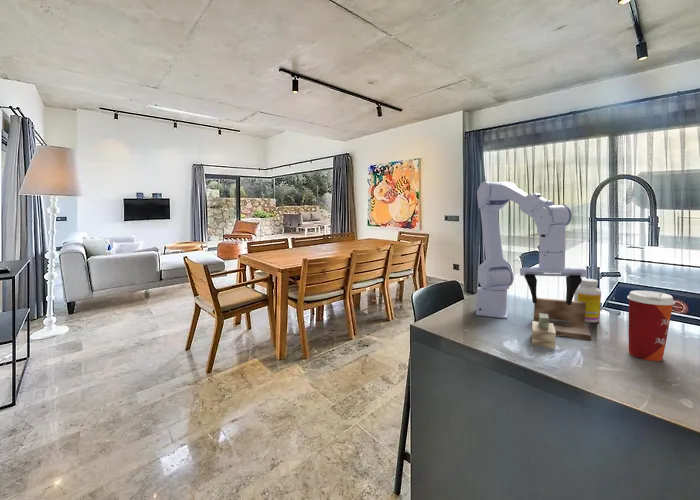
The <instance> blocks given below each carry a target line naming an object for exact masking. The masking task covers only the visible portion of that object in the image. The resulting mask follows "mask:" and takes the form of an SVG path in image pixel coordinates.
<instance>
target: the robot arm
mask: <svg viewBox="0 0 700 500" xmlns="http://www.w3.org/2000/svg"><path fill="white" fill-rule="evenodd" d="M476 196H477V197H476V198H477V204H478V205H477V206H478V209H479V210H480V219H481V228H482V239H483V246H484V254H485V260H484V261H483V262H482V263H481V264H479V265H478V275H477V280H478V284H479V285H480V286H478V287H477V289H476V303H475V308H476V309H475V310H476V311H475V315H476V316H483V317H491V318H498V319H499V318H500V319H508V316H509V315H508V314H509V310H508V309H507V308H508V307H507V306H508V305H507V304H508V303H507V302H508V290H509V289H510V287H511V286H512V285H513V283H514V280H515V277H514V276H515V275H514V272H513V270H512V268H511V264H510V263H509V262H508V261H507V260H505V259H504V258H503V256H504V255H503V247H502V240H501V231H500V224H499V223H500V221H499V214H498V213H499V211H500V210H501V209H503V208H504V207H506V205H507V204H508V203H509V202H513V203H514V204H516V205H518V206H519V210H520V212H522V213H524V214H525V215H526V216H529V217H530V218H532V219H533V222H534V224H535V225H536V231H537V234H538V235H539V236H538V237H539V239H538V240H539V242H538V243H539V244H538V250H539V251H538V267H537V266H536V267H535V266H534V267H519V275H520V277H521V276H522V277H524V279H525V281H526V283H527V286H528V289H529V291H530V295H531V298H532V304H534V303H537V298H538V297H537V296H538V295H537V287H538V286H537V285H538V283H537V282H538V279H537V276H539V277H544V276H545V277H565V281H566V282H565V284H566V285H565V286H566V294H565V300H566V304H567V305H571V303H572V301H573V300H574V296H575V292H576V290H577V288H578V286H580V283H581V282H582V278H587V269H585V268H572V267H566V232H567V231H566V227H567V226H569V224H570V223H571V221H572V216H573V215H572V211H571V208H570V207H569V206H567V205H566V204H557V205H556V204H555V203H553V202H554V201H553V200H549V199H546V198H544V197H542V194H541V193H539V192H533V193H527V192H525V191H523V190H522V189H520V188H519V187H517V186H516V183H514V182H511V181H509V180H508V181H482V182H481V183H480V185H479V187H478V189H477V191H476Z"/></svg>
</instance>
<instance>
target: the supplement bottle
mask: <svg viewBox="0 0 700 500" xmlns="http://www.w3.org/2000/svg"><path fill="white" fill-rule="evenodd" d="M581 278H582V282H581V283H580V285H579V286H578V288H577V290H576V292H575V294H574V296H573V301H580V302H585V303H586V309H585V323H589V324H590V323H591V324H595V323H598V322H599V321H600V314H601V313H600V312H601V301H602V300H601V296H602V291H601V290H600V289H599V288H598V287H597V286H598V285H599V281H598V279H594V278H587V277H581Z"/></svg>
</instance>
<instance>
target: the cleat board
mask: <svg viewBox="0 0 700 500" xmlns="http://www.w3.org/2000/svg"><path fill="white" fill-rule="evenodd" d="M585 309H586V303H585V302H580V301H574V300H572V303H571V305H567V304H566V299H555V298H544V297H537V303H533V321H537V322H539V313H542V314H548V317H549V323H553V325H554V328H555V332H556V336H560V337H568V338H576V339H583V340H584V339H585V340H592V334H591V332H590V330H589V328H588V326H587V325H586V322H585Z"/></svg>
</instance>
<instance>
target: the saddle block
mask: <svg viewBox="0 0 700 500" xmlns="http://www.w3.org/2000/svg"><path fill="white" fill-rule="evenodd" d="M556 337H557V335H556V332H555V328H554V325H553V323H549V317H548V314H542V313H539V322H537V321H534V320H532V321H531V344H532V346H539V347H546V348H551V349H556V341H557V340H556Z"/></svg>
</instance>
